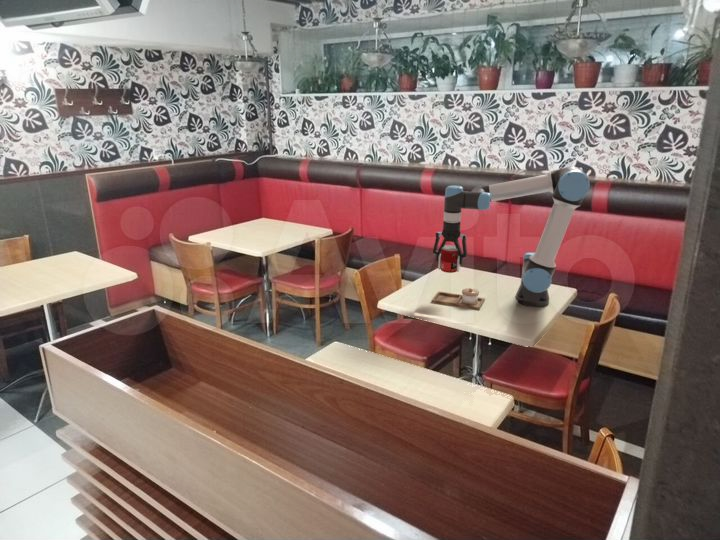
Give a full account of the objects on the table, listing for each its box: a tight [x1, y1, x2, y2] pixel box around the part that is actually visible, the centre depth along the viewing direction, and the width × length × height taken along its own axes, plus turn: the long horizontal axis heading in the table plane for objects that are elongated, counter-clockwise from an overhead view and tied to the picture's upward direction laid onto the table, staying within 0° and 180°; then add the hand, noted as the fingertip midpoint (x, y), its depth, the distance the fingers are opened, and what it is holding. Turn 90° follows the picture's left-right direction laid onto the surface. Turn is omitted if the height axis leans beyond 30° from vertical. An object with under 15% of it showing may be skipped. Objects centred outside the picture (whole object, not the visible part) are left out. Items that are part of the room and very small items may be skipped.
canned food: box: [439, 244, 459, 274], centre depth 243 cm, size 8×8×11 cm
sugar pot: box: [461, 287, 480, 306], centre depth 244 cm, size 8×8×7 cm
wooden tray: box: [431, 291, 486, 311], centre depth 248 cm, size 22×12×2 cm, turn 67°
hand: (448, 269), depth 245 cm, fingers closed on canned food, 8 cm apart
